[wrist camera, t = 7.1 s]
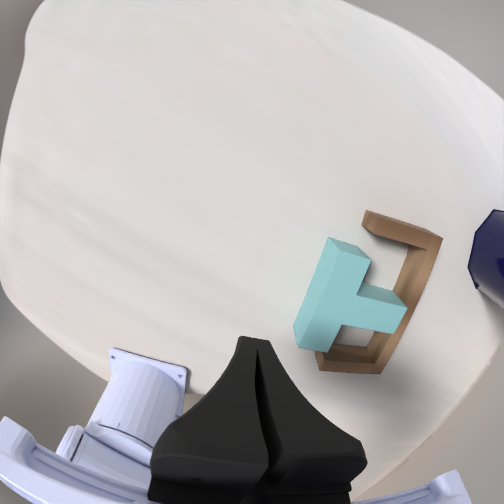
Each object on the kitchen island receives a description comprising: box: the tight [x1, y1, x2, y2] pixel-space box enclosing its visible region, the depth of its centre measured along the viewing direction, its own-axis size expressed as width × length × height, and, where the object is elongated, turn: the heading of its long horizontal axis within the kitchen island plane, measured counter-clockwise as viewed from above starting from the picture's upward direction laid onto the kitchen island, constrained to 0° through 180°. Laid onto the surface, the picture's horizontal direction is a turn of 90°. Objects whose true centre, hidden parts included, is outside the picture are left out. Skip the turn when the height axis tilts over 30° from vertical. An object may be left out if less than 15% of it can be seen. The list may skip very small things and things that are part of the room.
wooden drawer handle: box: [315, 210, 443, 374], centre depth 21 cm, size 13×6×2 cm, turn 167°
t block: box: [293, 237, 407, 352], centre depth 21 cm, size 8×8×3 cm
